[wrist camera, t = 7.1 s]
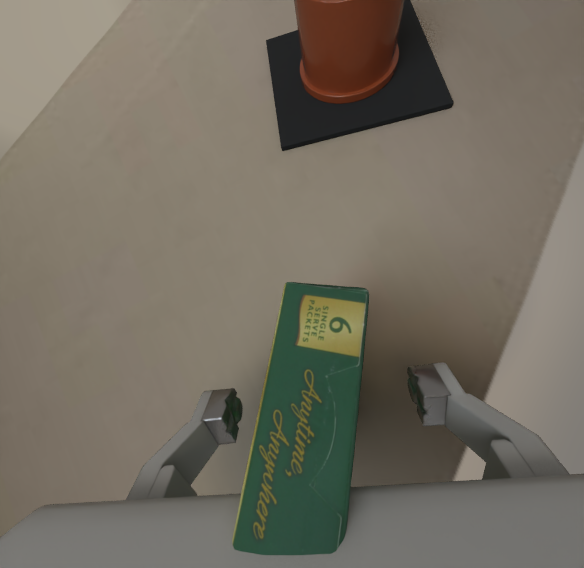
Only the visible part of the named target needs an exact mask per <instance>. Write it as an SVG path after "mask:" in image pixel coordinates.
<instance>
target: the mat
mask: <svg viewBox="0 0 584 568" xmlns="http://www.w3.org/2000/svg"><path fill="white" fill-rule="evenodd" d="M266 43H267V50H268V57H269V64H270V71H271V78H272V85H273V92H274V99H275V106H276V113H277V120H278V127H279V134H280V142H281V148H282V151H284V150H287V149H291V148H295V147H299V146H303V145H307V144H311V143H315V142H319V141H323V140H327V139H330V138H334V137H338V136H342V135H346V134H350V133H354V132H358V131H362V130H366V129H369V128H373V127H377V126H381V125H385V124H389V123H393V122H397V121H401V120H405V119H408V118H412V117H416V116H420V115H424V114H428V113H432V112H436V111H440V110H444V109H447V108H451V107H452V105H453V100H452V98H451V95H450V93H449V91H448V88H447V86H446V84H445V81H444V79H443V77H442V74H441V72H440V70H439V67H438V65H437V63H436V60H435V58H434V55H433V53H432V51H431V48H430V46H429V44H428V41H427V39H426V37H425V34H424V32H423V30H422V27H421V25H420V23H419V20H418V18H417V16H416V13H415V11H414V8H413V6H412V4H411V1H410V0H404V5H403V11H402V17H401V23H400V28H399V34H398V40H397V44H398V47H399V59H398V64H397V68H396V71H395V73H394V75H393V77H392V78H391V80H390V81H389V82H388V83H387V84H386V85H385V86H384V87H383V88H382V89H381V90H379V91H378V92H376V93H375V94H373V95H371V96H370V97H367V98H365V99H362V100H359V101H356V102H352V103H345V104H334V103H327V102H323V101H320V100H318V99H316V98H314V97H312V96H311V95H310V94H309V93H308V92H307V91H306V90H305V88H304V87H303V85H302V82H301V77H300V63H301V59H302V56H301V48H300V41H299V34H298V30H296V31H293V32H290V33H287V34H284V35H281V36H278V37H275V38H272V39H269V40H266Z"/></svg>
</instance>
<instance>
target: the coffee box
mask: <svg viewBox="0 0 584 568" xmlns="http://www.w3.org/2000/svg"><path fill="white" fill-rule="evenodd" d="M368 304H369V293H368V290H367V289H365V288H359V287H343V286H332V285H317V284H305V283H295V282H287V283H285V285H284V290H283V295H282V300H281V305H280V309H279V314H278V318H277V323H276V329H275V334H274V338H273V343H272V348H271V354H270V358H269V363H268V368H267V372H266V377H265V382H264V386H263V391H262V396H261V400H260V406H259V411H258V415H257V420H256V425H255V430H254V434H253V439H252V444H251V449H250V453H249V458H248V463H247V468H246V473H245V478H244V482H243V487H242V492H241V497H240V502H239V508H238V513H237V518H236V523H235V528H234V533H233V538H232V544H233V547H234V549H235V550H238V551H241V552H248V553H254V554H259V555H316V554H332V553H334V552H336V550H337V549H338V547H339V546H340V544H341V543H342V541H343V540H344V537H345V533H346V529H347V521H348V511H349V499H350V487H351V477H352V468H353V459H354V450H355V438H356V427H357V419H358V411H359V398H360V388H361V378H362V368H363V357H364V346H365V335H366V326H367V316H368Z"/></svg>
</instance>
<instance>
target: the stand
mask: <svg viewBox="0 0 584 568" xmlns="http://www.w3.org/2000/svg"><path fill="white" fill-rule="evenodd" d="M294 4H295V11H296V19H297V26H298V34H299V41H300V48H301V56H302V59H301V63H300V77H301V82H302V85H303V87H304V88H305V90H306V91H307V92H308V93H309V94H310V95H311V96H312V97H314V98H316V99H318V100H320V101H323V102H327V103H334V104H345V103H352V102H356V101H359V100H362V99H365V98H367V97H370V96H371V95H373V94H375V93H376V92H378V91H379V90H381V89H382V88H383V87H384V86H385V85H386V84H387V83H388V82H389V81H390V80H391V78H392V77H393V75H394V73H395V71H396V68H397V64H398V59H399V47H398V44H397V40H398V34H399V28H400V23H401V17H402V11H403V5H404V0H294Z"/></svg>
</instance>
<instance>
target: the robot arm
mask: <svg viewBox="0 0 584 568" xmlns="http://www.w3.org/2000/svg"><path fill="white" fill-rule="evenodd" d="M407 373H408V375H409V379H408V380H407V381H408V389H409V393H410V396H411V398H412V401H413V402H414V403H415V404H416V405H417V413H418V415H419V417H420V420H421V422H422V424H423V426H434V425H445V426H446V427H447V428H448V429H449V430H450V431H451V432H452V433H454V434H455V435H456V436H457V437H458V438H459V439H460V440H461V441H463V442H464V443H465V444H466V445H467V446H468V447H469V448H471V449H472V450H473V451H474V452H475V453H476V454H477V455H478V456H480V457H481V458H482V459H483V460H484V461H485V462H486V466H485V470H484V474H483V478H482V480H469V481H451V482H434V483H417V484H399V485H382V486H364V487H350V499H349V511H348V521H347V529H346V533H345V537H344V540H343V541H342V543H341V544H340V546H339V547H338V549H337V550H336V552H334V553H332V554H316V555H259V554H254V553H248V552H241V551H238V550H235V549H234V547H233V544H232V538H233V533H234V528H235V523H236V518H237V513H238V508H239V502H240V497H241V494H225V495H207V496H197V493H196V492H195V491H194V489H193V488H192V487H191V486H190V485H191V484H192V482H193V481H194V480H195V478H196V477H197V475H198V474H199V473H200V471H201V470H202V468H203V467H204V466H205V464H206V463H207V461H208V460H209V459H210V457H211V456H212V454H213V453H214V452H215V450H216V449H217V447H218V446H219V445H220V444H229V443H236V439H237V434H238V430H239V428H238V426H237V424H238V422H239V421H240V420H241V417H242V403H241V400H240V399H239V398H238V397H236V394H237V392H236V390H235V388H231V389H220V390H210V391H204V392H203V393H202V395H201V397H200V400H199V402H198V404H197V407H196V409H195V411H194V414H193V416H192V419H191V421H190V422H189V423H186V424H185V425H184V426H183V427H182V428H181V429H180V430H179V431H178V432H177V433H176V434H175V435H174V436H173V437H172V438H171V439H170V440H169V441H168V442H167V443H166V444H165V445H164V446H163V447H162V448H161V449H160V450H159V451H158V452H157V453H156V454H155V455H154V456H153V457H152V458H151V459H150V460H149V461H148V462H147V463H146V464H145V465H144V466H143V467H142V469H141V471H140V473H139V475H138V477H137V479H136V481H135V483H134V485H133V487H132V489H131V491H130V493H129V495H128V497H127V499H126V500H120V501H102V502H84V503H66V504H49V505H44V506H42V507H40V508H38V509H36V510H35V511H33V512H32V513H31V514H29V515H28V516H27V517H25V518H24V519H23V520H21V521H20V522H19V523H18V524H16V525H15V526H14V527H13V528H11V529H10V530H9V531H8V532H6V533H5V534H4V535H3V536H1V537H0V568H584V474H573V475H570V474H569V473H568V472H567V470H566V469H565V468H564V467H563V465H562V464H561V463H560V462H559V460H558V459H557V458H556V457H555V455H554V454H553V453H552V452H551V450H550V449H549V448H548V447H547V445H546V444H545V443H544V442H543V440H542V439H541V438H540V437H539V436H538V435H537V434H535V433H533V432H532V431H530V430H529V429H527V428H525V427H523V426H522V425H520V424H519V423H517V422H515V421H514V420H512V419H511V418H509V417H507V416H506V415H504V414H503V413H501V412H499V411H498V410H496V409H494V408H493V407H491V406H489V405H488V404H486V403H485V402H483V401H481V400H480V399H478V398H476V397H475V396H473V395H472V394H466V393H465V391H464V390H463V388H462V387H461V385H460V384H459V382H458V381H457V379H456V378H455V376H454V375H453V373H452V372H451V370H450V369H449V367H448V366H447V364H446V363H445V362H441V363H433V364H424V365H417V366H409V367H408V368H407Z"/></svg>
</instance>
